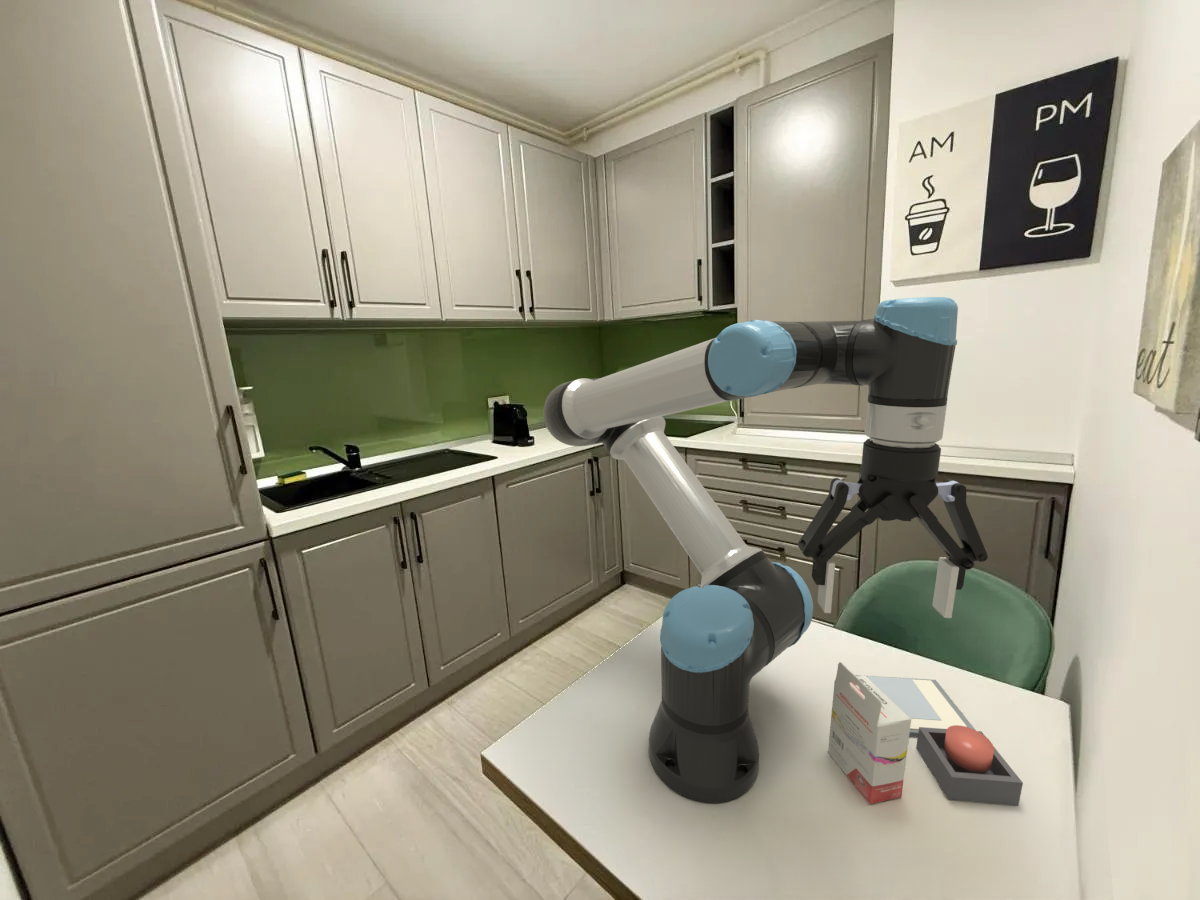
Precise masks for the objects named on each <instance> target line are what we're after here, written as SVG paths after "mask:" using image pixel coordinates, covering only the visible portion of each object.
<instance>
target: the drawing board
mask: <svg viewBox="0 0 1200 900" xmlns="http://www.w3.org/2000/svg"><path fill="white" fill-rule="evenodd" d="M854 675H855V674H854ZM855 676H862V675H861V674H860V675H857V674H856V675H855ZM865 676H866V677H867V678H868V679H869V680H871V681H872V682H873V683H874V684H875V685H876V686H877V687H878V688H879V689H880V690H881V691H882V692H883V693H884V694H885V695H886V696H887V697H888V698H889V699H891V700H892V701H893V702H894V703H895V704H896V705H897V706H898V707H899V708H900V709H901V710H902V711H903V712H904V713H905V714H907V715H908V716H909V717H910V718H911V725H910V733H909V738H918V732H919V727H925V728H940V729H947V728H948V727H950V726H954V725H960V726H965V727H969V728H971V729H974V730H976V729H975V727H974V726H973V724H971V722H970V721H969V720H968V718H967V717H966V715H964V713H963V712H962V711H961V710H960V709H959V707H958V706H957V705H956V704H955V702H954V700H953V699H952V698H951V697H950V695H948V694H947V692H946V691H945V689H944V688H943V687H942V686H941V685H940V683H939V682H938V681H937V679H926V678H913V677H912V678H910V677H906V678H905V677H895V676H894V677H892V676H889V677H888V676H876V675H875V676H874V675H865Z"/></svg>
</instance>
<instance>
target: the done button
mask: <svg viewBox="0 0 1200 900" xmlns="http://www.w3.org/2000/svg"><path fill="white" fill-rule="evenodd" d="M974 729H975V728H974ZM974 729H971V728H969V727H965V726H960V725H954V726H950V727H948V728H947V731H946V737H945V743H944V751H945V753H946V755H947V756H948V757H949V758H950V759H951V760H952V761H953V762H954V763H955V764H957V765H959V766H960V767H962V768H964V769H966V770H969V771H972V772H977V773H984V772H988V771H989V770H990V769H991V765H992V760H993V754H994V747H995V746H994V745H993V743H992V742H991V740H990V739H989V738H988V737H987V736H986V735H985V734H984V733H983V734H984V735H985V736H986V737H985V736H984V735H983V734H981V733H980V732H978V731H979V730H976V729H975V730H974Z"/></svg>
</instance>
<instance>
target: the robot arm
mask: <svg viewBox="0 0 1200 900" xmlns="http://www.w3.org/2000/svg"><path fill="white" fill-rule="evenodd" d="M958 312H959V306H958V304H957V302H956V301H955V300H954V299H952V298H951V297H945V296H927V297H925V296H924V297H906V298H904V297H903V298H897V299H885V300H883V301H881V302H879V303H878V305H877V307H876V312H875V314H874V315H873V318H868V319H862V320H827V321H825V320H824V321H819V320H818V321H817V320H816V321H810V320H809V321H773V320H767V319H766V320H760V319H753V320H749V321H745V322H744V321H743V322H738V323H734V324H731V325H729V326H727V327H725V328H723V330H721V332H720V333H719V334H718V335H717V336H716V337H714V338H710V339H709V340H705V341H702V342H700V343H697V344H694V345H691V346H687V347H686V348H682V349H680V350H677V351H674V352H672V353H668V354H666V355H663V356H660V357H657V358H654V359H651V360H649V361H646V362H643V363H640V364H637V365H634V366H631V367H627V368H626V369H623V370H620V371H617V372H615V373H611V374H609V375H605V376H603V377H601V378H600V377H597V378H582V377H581V378H578V379H574V380H571V381H567V382H563V383H560V384H559V385H557V386H556V387H555V388H553V389H552V390H551V391H550V392H549V394H548V395H547V397H546V399H545V401H544V404H543V410H542V411H543V412H542V413H543V420H544V424H545V427H546V429H547V430H548V432H549V433H550V435H552V437H553V438H554V439H556V440H557V441H558V442H560V443H562V444H564V445H566V446H567V445H568V446H572V447H586V446H592V445H598V444H603V446H604V448H605V449H606V450H607V452H608V453H609V455H610V456H611V458H612V459H613V460H614V459H615V460H620V461H624V462H625V463H626V465H627V466H628V468H629V469H630V471H631V472H632V473H633V475H634V477H635V479H636V480H637V481H638V483H639V484H640V486H641V487H642V489H643V490H644V492H645V493H646V495H647V496H648V497H649V499H650V500H651V502H652V503H653V505H654V507H656V509H657V511H658V512H659V514H660V516H661V517H662V518H663V520H664V521H665V523H666V524H667V526H668V527H669V529H670V530H671V532H672V533H673V534H674V536H675V538H676V539H677V540H678V542H679V544H680V545H681V546H682V548H683V549H684V551H685V552H686V553H687V555H688V557H689V558H690V560H691V561H692V563H693V564H694V566H695V567H696V569H697V570H698V572H699V573H700V574H701V581H700V582H701V583H700V587H699V586H698V585H694V586H692V587H691V586H690V587H688V588H685V589H683V590H681V591H680V592H678V593H676V594H674V595H673V596H672V597H671V598H670V600H669V601H668V602H667V604H666V606H665V607H664V610H663V612H662V613H663V614H662V622H661V628H660V633H659V636H660V637H659V638H660V639H659V640H660V649H661V650H660V663H661V664H660V665H661V667H660V668H661V669H660V670H661V671H660V672H661V701H660V703H659V707H658V709H657V711H656V713H655V717H654V718H653V721H652V724H651V726H650V729H649V736H648V740H649V741H648V754H649V759H650V762H651V766H652V767H653V769H654V772H655V773H656V775H657V776H658V777H659V778H660V779H661V781H662V782H664V784H665V785H666V786H668V787H669V788H670V789H671V790H673V791H674V792H675V793H678V794H680V795H681V796H684V797H686V798H687V799H691V800H693V801H698V802H703V803H713V804H714V803H716V804H717V803H723V802H730V801H731V800H732V801H733V800H735V799H737V798H739V797H741V796H742V795H744V794H746V793H747V792H748V791H749V790H751V788H752V787H753V785H754V784H755V782H756V780H757V777H758V775H759V770H760V747H759V742H758V739H757V736H756V734H755V729H754V727H753V724H752V721H751V717H750V714H749V698H750V697H749V696H750V683H751V681H752V679H753V677H754V676H756V675H757V674H758V673H759V672H761V671H762V670H763V669H764V668H765V667H766V666H768V665H769V664H771V663H772V661H774V660H775V659H776V658H777V657H778V656H780V655H781V654H782V653H783V652H784V651H786V650H787V649H789V648H790V647H792V646H793V645H796V643H798V642H799V640H801V638H802V636H803V635H804V634H805V633H806V632H807V630H808V629H809V628H810V625H811V623H812V620H813V613H814V612H813V611H814V603H813V597H812V595H811V591H810V589H809V587H808V585H807V584H806V582H805V581H804V579H803V577H802V576H801V575H800V574H799V573H798V572H797V571H795V570H794V569H793V568H792V567H790V566H789V565H784V564H782V563H780V562H776V561H774V562H773V561H772V560H771V559H770V558H769V557H768V556H767V555H766V553H765V552H764V551H763V549H762V548H761V547H760V548H759V547H755V546H749V545H748V544H746V543H745V541H744V539H742V537H741V535H740V534H739V533H738V532H737V530H736V529H735V528H734V526H733V525H732V523H731V522H730V521H729V520H728V518H727V517H726V516H725V514H724V513H723V511H722V510H721V509H720V507H719V506H718V504H717V503H716V502H715V500H714V499H713V498H712V496H711V495H710V494H709V492H708V491H707V490H706V488H705V487H704V485H703V484H702V482H700V480H699V479H698V477H697V476H696V475H695V473H694V472H693V470H692V469H691V468H690V466H689V465H688V464H687V462H686V460H684V458H683V457H682V455H681V454H680V452H679V451H678V450H677V449H676V447H675V446H674V444H673V443H672V442H671V440H670V439H669V438H668V437H667V435H666V434H665V428H666V419H665V418H664V416H665V417H666V416H668V415H673V414H678V413H682V412H687V411H691V410H696V409H700V408H704V407H709V406H714V405H718V404H722V403H727V402H730V401H731V402H732V401H738V400H742V399H746V398H750V397H753V398H754V397H757V396H762V395H765V394H770V393H774V392H780V391H784V390H789V389H790V390H791V389H796V388H803V387H808V386H814V385H846V386H849V385H850V386H851V385H852V386H861V387H862V386H868V396H867V405H866V415H865V423H864V431H863V433H864V434H865V436H866V437H868V438H867V439H866V440H865V441H864V442H863V446H862V454H861V455H862V457H861V465H860V477H859V479H858V481H857V482H851V481H844V480H841V479H840V478H838V477H835V478H833V479H831V482H830V485H829V490H828V495H827V496H826V498H825V500H824V501H823V503H822V504H821V506H820V507H819V509H818V510H817V512H816V514H815V515H814V517H813V518H812V520H811V522H810V523H809V525H808V526H807V528H806V529H805V531H804V533H803V534H802V536H801V537H800V539H799V541H798V542H797V547H798V548H799V550H800V551H801V553H802V554H803V556H804V557H807V558H812V569H811V577H812V580H813V582H814V584H815V585H816V586H818V589H817V590H818V591H817V603H818V605H819V606H820V608H821V610H822V611H823V613H824V614H832V605H833V604H832V603H833V593H834V581H835V572H836V571H835V570H836V563H835V562H834V561H833V559H832V557H834V556H835V555H836V554H837V553H838V552H839V551H840V550H841V549H842V548H844V546H846V545H847V544H848V543H849V542H850V541H851V540H852V539H853V538H854V537H855V536H857V535H858V534H859V533H860V532H861V531H862V530H863V529H864V528H865V527H866V526H868V525H872V524H873V523H874V522H875V521H876V520H877V519H879V520H881V521H883V522H890V521H894V520H899V521H901V522H902V521H903V522H912V520H914V519H915V518H916V519H917V520H918V521H919V523H920V524H921V525H922V526H923V527H924V529H925V530H926V531H927V532H928V533H929V534H930V536H931V537H932V538H933V540H934V541H935V542H936V543H937V544H938V546H939V547H940V549H942V550H943V552H944V553H945V554H946V556H947V557H945V556H944V557H943V556H941V557H940V556H939V557H938V563H937V570H936V571H937V572H936V577H935V578H936V579H935V585H934V592H933V598H932V605H931V606H932V607H933V608H934V609H935V610H936V611H937V612H938V613H939V614H940V616H942V617H943V618H945V619H952V618H953V617H952V616H953V610H954V604H955V598H956V591H957V590H958V591H960V590H962V589H963V587H964V585H965V584H964V583H965V578H966V572H967V570H972V569H973V568H974V566H975V562H977V561H978V562H980V563H982V562H983V563H984V562H986V561H987V560H988V559H989V558H988V557H989V556H988V552H987V551H986V547H985V546H984V543H983V541H982V538H981V536H980V533H979V531H978V529H977V527H976V524H975V521H974V518H973V517H972V514H971V512H970V509H969V506H968V504H967V487H966V485H963V484H961V483H959V482H958V481H956V480H953V479H952V478H946V479H944V481H942V482H936V478H937V476H938V474H939V468H940V460H941V454H942V453H941V452H942V448H941V447H940V445H939V444H937V442H940V441H941V440H942V439H943V438H944V437H943V435H944V427H945V421H946V415H947V406H948V404H947V403H948V396H949V389H950V383H951V375H952V370H953V364H954V357H955V352H956V351H955V350H956V346H957V345H958V339H957V327H958V315H959V314H958ZM855 494H857V496H858V497H859V498H860V499H859V500H858V501H857V502H856V503H855V504H854V505H853V506H852V507H851V509H850V510H851V511H850V512H848V514H846V515H845V516H844V517H843V519H841V520H840V521H839V522H838V523H837V524H836V525H834V523H835V522H836V520H837V519H838V517H839V516H840V514H841V512H842V511H843V510H844V508H845V506H846V503H847V501H850V500H851V499H852V498H853V496H854V495H855ZM937 496H938V497H939V498H940V500H942V501H943V505H944V506H945V509H946V511H947V513H948V516H949V518H950V521H951V523H952V525H953V528H954V530H955V532H956V535H957V537H958V539H959V541H960V544H961V547H960V546H959V545H958V543H957V542H956V541H955V539H953V537H952V536H951V535H950V533H949V532H948V531H947V529H945V527H944V526H943V525H942V524H941V523H940V521H939V520H938V518H937V516H936V515H935V514H934V512H933V511H932V509H930V508H929V505H930V504H931V503H932V502H933V501H935V499H936V498H937ZM833 525H834V527H833V528H832V526H833Z"/></svg>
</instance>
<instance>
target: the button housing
mask: <svg viewBox="0 0 1200 900" xmlns="http://www.w3.org/2000/svg"><path fill="white" fill-rule="evenodd" d="M946 731H947V729H940V728H925V727H919V732H918V737H917V740H916V746H915V749H916V750H917V752H918V753H919V755H920V757H921V758H922V760H923V761H924V763H925V765H926V766H927V768H928V769H929V772H930V773H931V774H932V776H933V778H934V779H935V781H936V783H937V785H939V788H940V790H941V791H942V792H943V794H944V796H945V797H946V799H947V800H948V801H954V802H955V801H957V802H966V803H968V802H969V803H979V804H980V803H982V804H990V805H1001V806H1002V805H1003V806H1015V807H1019V803H1020V799H1021V795H1022V788H1023V786H1024V785H1023V784H1024V781H1022V780H1021V779H1020V777H1019V776H1018V775H1017V773H1016V772H1015V771H1014V769H1012V768H1011V766H1010V765H1009V764H1008V762H1007V761H1006V759H1005V758H1004V757H1003V756H1002V754H1000V753H999V751H998V750H997V749H996V747H995V746H994V754H993V760H992V765H991V769H990V770H989V771H988V772H984V773H977V772H972V771H969V770H966V769H964V768H962V767H960V766H959V765H957V764H955V763H954V762H953V761H952V760H951V759H950V758H949V757H948V756H947V755H946V753H945V751H944V743H945V737H946ZM977 731H978V732H980V733H981V734H983V735H984V736H985V737H987V736H986V735H985V733H983V731H981V730H977Z"/></svg>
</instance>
